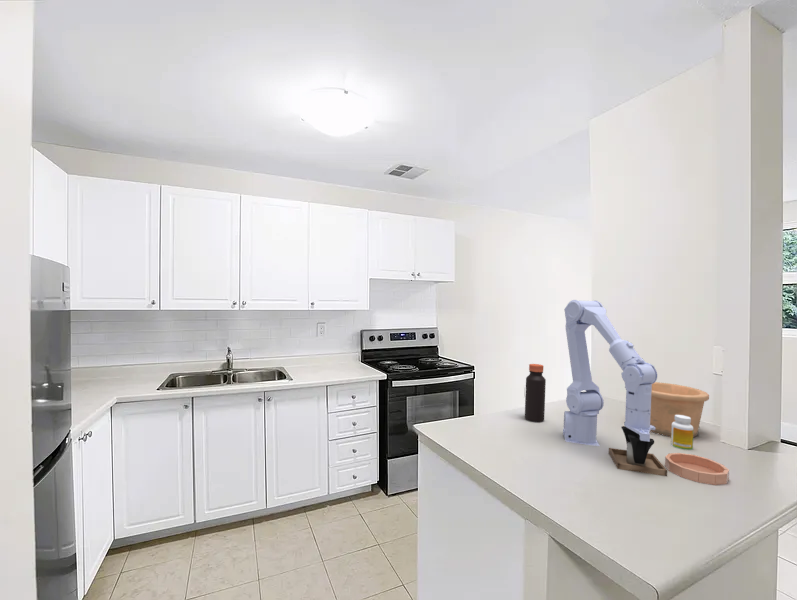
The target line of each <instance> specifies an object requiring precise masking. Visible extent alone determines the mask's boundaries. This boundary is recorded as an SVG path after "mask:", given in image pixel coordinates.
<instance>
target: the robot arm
mask: <svg viewBox="0 0 797 600" xmlns="http://www.w3.org/2000/svg"><path fill="white" fill-rule="evenodd" d="M564 317H565V333H566V341H567V349H568V356H569V363H570V369H571V370H570V371H571V375H572V376H571V377H572V383H570V385H569V386H568V387H566V393H567V394H566V398H565V402H566V406H567V408H568V410H564V413H563V414H564V415H563V428H562V435H563V438H564V441H565V442H567V443H574V444H581V445H587V446H595V447H600V444H599V441H598V440H597V434H598V433H597V432H598V431H597V430H598V429H597V428H598V415H600V411H602V410H603V407H604V403H605V402H604V398H603V397H604V396H602V394H601V391H600V387H599V386H598V385H597V384H596V383H595V382H594V381H593V378H592V372H591V366H590V365H591V364H590V358H589V352H588V345H587V344H588V343H587V337H586V330H587V329H588V328H589V327H590V326H594V327H595V329H596V330H597V331H598V333H600V335H601V336H602V338H603V339H604V340H605V341H606V342H607V343H608V345H609V348H608V351H609V353H610V355H611V356H612V358H613V359H614V360H615V362H616V363H617V365H618V366H619V367H620V369H621V370H622V371H621V378H622V381H624V388H625V390H626V391H625V415H624V416H625V417H624V418H625V419H624V420H625V421H624V422H623V425H624V426H623V425H622V426H621V430H622V431H623V435H624V438H625V441H626V444H627V443H628V442H631V445H632V450H633V458H634V462H635V463H638V464H644V463H645V460H646V457H647V454H648V453H649V451H650V449H651V448H652V447H653V445H654V444H655V440H654V439H653V438H651V434H650V433H651V430H655V427H654V426H652V425H650V416H651V392H652V384H653V383H655V382H657V380H658V372H657V370H656V368H655V365H653V364H652V363H649V362H646V361H645V360H644V359H643V358H642V357H641V356H640V354H639V353H638V351H636V349H635V348H634V346H635V345H634V344H633V343H632V342H630V341H629V340H626V339H622V338H621V336H620V334H619V332H618V331H617V329H615V327H614V325H613V322H611V320H610V319H609V318H608V316H607V309H606V308H605V307H604V305H603V304H602V302H600V301H598V300H577V299H571V300H570V301H569V302H568V303H567V304H566V306H565V307H564Z"/></svg>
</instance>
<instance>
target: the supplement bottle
mask: <svg viewBox="0 0 797 600" xmlns="http://www.w3.org/2000/svg"><path fill="white" fill-rule="evenodd" d="M674 419H675V422H673V423H672V426H671V436H670V446H672V447H674V448H676V449H680V450H684V451H692V450H693V449H694V447H693V444H694V437H693V426H692V425H691V424H690V423H691V418H690V417H688V416H684V415H675V418H674Z"/></svg>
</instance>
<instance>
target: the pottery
mask: <svg viewBox="0 0 797 600" xmlns="http://www.w3.org/2000/svg"><path fill="white" fill-rule="evenodd" d="M709 400H710V395H709V393H708V392H706V391H705V390H702V389H699V388H695V387H690V386H687V385H680V384H675V383H668V382H660V381H659V382H658V381H656V382H655V383H653V384H652V392H651V416H650V425H652V426H654V427H655V430H651V431H652V432H651V431H650V432H651V433H654V432H655V433H654V434H657V433H659V434H658V435H661V434H663V435H662V436H666V435H667V436H666V437H671V426H672V423H673V422H675V419H674V418H675V415H684V416H688V417H690V418H691V423H690V424H691V425H692V426H693V438H695V437H697V436H698V433H699V429H700V423H701V418H702V415H703V409H704V406H705V402H707V401H709Z"/></svg>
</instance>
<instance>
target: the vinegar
mask: <svg viewBox="0 0 797 600" xmlns="http://www.w3.org/2000/svg"><path fill="white" fill-rule="evenodd" d="M528 366H529V367H528V372H529V374H528V375H527V376H526V377H525V395H524V396H525V400H524V401H525V403H524V419H525V420H526V421H528V422H533V423H542V422H544V421H545V412H546V411H545V407H546V406H545V404H546V381H547V380H546V378H545V376H543V374H544V365H543V364H540V363H530V364H528Z"/></svg>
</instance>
